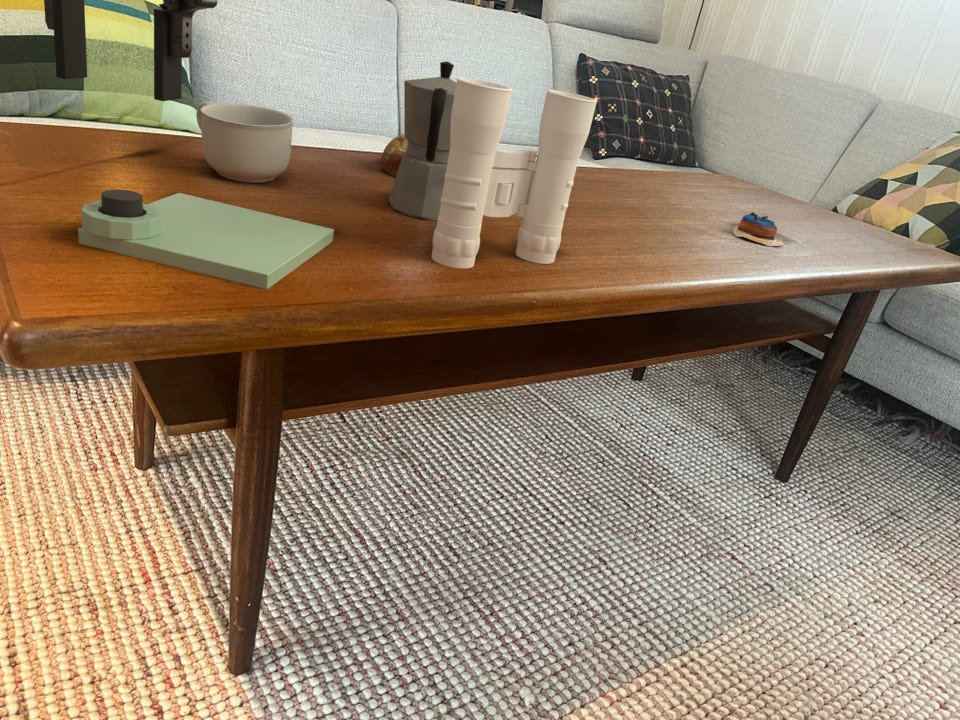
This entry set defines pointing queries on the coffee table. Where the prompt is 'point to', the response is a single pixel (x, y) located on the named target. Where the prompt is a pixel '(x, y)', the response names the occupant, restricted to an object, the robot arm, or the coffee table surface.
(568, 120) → the binoculars
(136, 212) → the button
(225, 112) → the teacup
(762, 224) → the dessert
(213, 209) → the scale
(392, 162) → the bread roll
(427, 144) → the coffeepot
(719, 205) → the coffee table surface
